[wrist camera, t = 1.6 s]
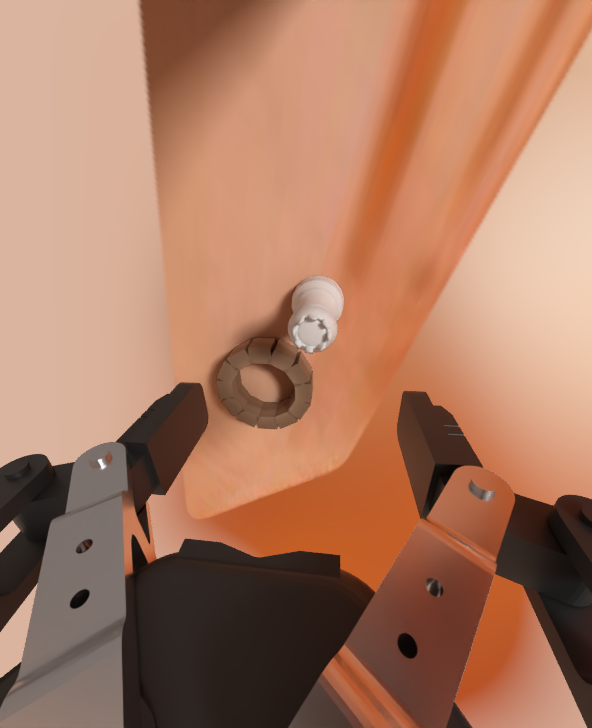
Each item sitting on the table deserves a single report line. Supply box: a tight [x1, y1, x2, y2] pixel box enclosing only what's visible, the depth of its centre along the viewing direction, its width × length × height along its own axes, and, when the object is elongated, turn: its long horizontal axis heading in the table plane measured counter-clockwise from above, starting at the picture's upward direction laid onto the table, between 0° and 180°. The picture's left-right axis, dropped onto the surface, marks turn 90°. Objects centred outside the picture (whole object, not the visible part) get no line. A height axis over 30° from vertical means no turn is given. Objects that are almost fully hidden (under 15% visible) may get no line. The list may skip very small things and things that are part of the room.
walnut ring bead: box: [216, 337, 313, 429], centre depth 28 cm, size 9×9×2 cm
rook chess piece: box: [288, 276, 344, 354], centre depth 21 cm, size 4×4×8 cm
